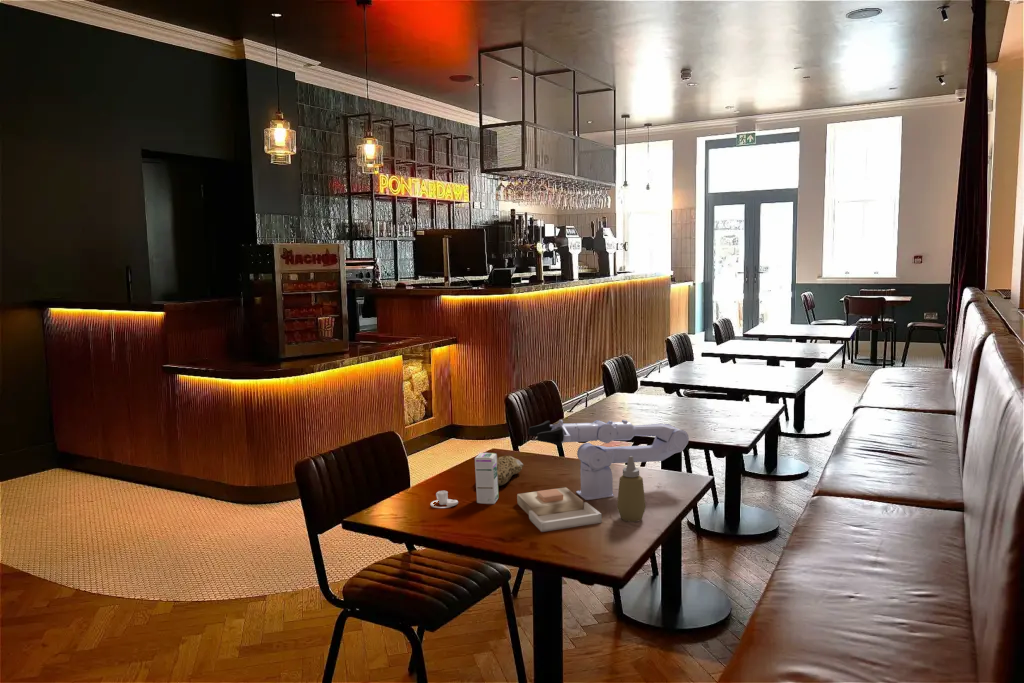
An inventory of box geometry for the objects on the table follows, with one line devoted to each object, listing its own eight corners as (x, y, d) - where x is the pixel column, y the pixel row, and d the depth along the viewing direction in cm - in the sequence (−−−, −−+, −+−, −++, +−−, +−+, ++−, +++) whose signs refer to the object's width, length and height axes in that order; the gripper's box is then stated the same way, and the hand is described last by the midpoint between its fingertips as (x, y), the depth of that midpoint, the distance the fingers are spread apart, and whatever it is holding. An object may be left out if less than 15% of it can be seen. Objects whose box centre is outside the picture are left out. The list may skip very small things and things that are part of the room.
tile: (555, 493, 218) (555, 488, 217) (563, 499, 212) (563, 494, 212) (537, 496, 216) (537, 491, 216) (544, 502, 210) (544, 497, 210)
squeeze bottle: (611, 516, 206) (610, 455, 204) (635, 511, 209) (635, 451, 207) (626, 525, 198) (626, 462, 196) (651, 520, 202) (651, 458, 199)
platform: (566, 496, 223) (566, 487, 223) (583, 510, 211) (583, 500, 211) (517, 503, 218) (517, 494, 218) (531, 518, 206) (531, 508, 206)
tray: (586, 510, 211) (586, 502, 211) (601, 522, 201) (601, 514, 201) (529, 519, 205) (528, 510, 205) (541, 532, 196) (541, 523, 195)
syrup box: (495, 504, 218) (493, 457, 217) (476, 503, 220) (474, 457, 218) (498, 497, 224) (497, 452, 222) (480, 497, 225) (478, 452, 223)
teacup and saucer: (462, 506, 218) (461, 493, 218) (438, 512, 214) (437, 499, 214) (449, 498, 226) (448, 486, 225) (426, 503, 222) (425, 491, 221)
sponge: (499, 473, 253) (464, 477, 237) (504, 451, 253) (469, 454, 236) (529, 486, 246) (495, 491, 229) (535, 464, 246) (501, 467, 229)
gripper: (566, 414, 226) (525, 415, 222) (585, 424, 212) (542, 426, 208) (565, 436, 227) (524, 438, 222) (583, 448, 213) (540, 450, 209)
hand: (532, 434), depth 215 cm, fingers open, 7 cm apart
